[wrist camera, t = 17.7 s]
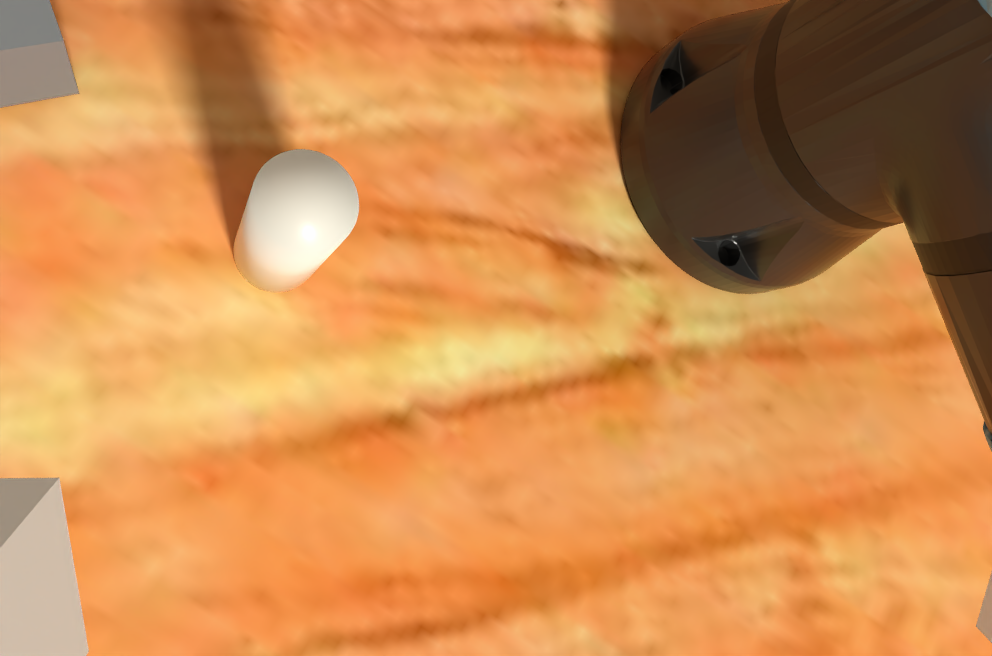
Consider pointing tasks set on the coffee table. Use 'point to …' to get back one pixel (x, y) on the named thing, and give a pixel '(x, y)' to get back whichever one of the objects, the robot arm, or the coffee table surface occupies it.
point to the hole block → (32, 54)
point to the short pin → (294, 219)
